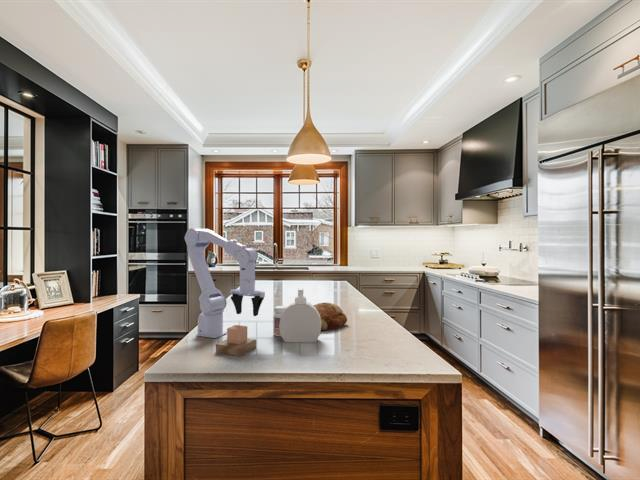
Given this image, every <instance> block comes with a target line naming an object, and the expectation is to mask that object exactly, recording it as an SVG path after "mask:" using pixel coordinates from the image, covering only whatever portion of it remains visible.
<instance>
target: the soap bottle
mask: <svg viewBox="0 0 640 480" xmlns="http://www.w3.org/2000/svg"><path fill="white" fill-rule="evenodd" d="M279 329H280V334H281V336H280V337H281V338H282V340H283V341H284V343H300V342H304V343H305V342H307V343H309V344H311V343H313V344H315V343H317V340H318V339H319V337H320V335H321V331H322V330H321V318H320V314H319V312H318V311H317V309H316V307H314V306H313V304H311V303H310V302H307V298H306V297H305V296H304V288H297V296H296V297H295V298H294V301H293V302H291V303H290V304H288V306H287V307H286V309H285V310H284V312H283V314H282V315H281V318H280V323H279Z"/></svg>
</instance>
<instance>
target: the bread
mask: <svg viewBox="0 0 640 480" xmlns="http://www.w3.org/2000/svg"><path fill="white" fill-rule="evenodd" d="M312 305H313V304H312ZM313 306H314V307H316V309H317V311H318V312H319V314H320V318H321V331H332V330H336V329H339V328H341V327H342V326H344V325H346V324H347V321H348V317H347V315H346V314H345V313H344V311H343V310H342V308H341V307H340V306H339V305H337V304H335V303H332V302H320V303H316V304H314V305H313Z"/></svg>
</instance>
